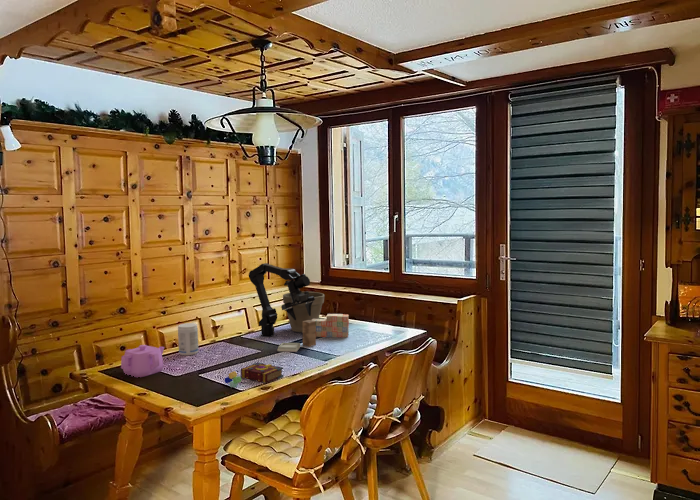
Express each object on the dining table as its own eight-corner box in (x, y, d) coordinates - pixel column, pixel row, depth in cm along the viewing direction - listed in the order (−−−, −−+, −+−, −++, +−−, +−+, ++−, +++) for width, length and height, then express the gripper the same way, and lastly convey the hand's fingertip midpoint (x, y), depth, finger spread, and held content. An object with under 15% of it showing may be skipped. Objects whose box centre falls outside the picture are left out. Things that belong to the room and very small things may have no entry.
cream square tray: (277, 351, 279) (277, 347, 278) (282, 346, 289) (282, 342, 288) (296, 351, 278) (296, 347, 277) (300, 346, 287) (300, 343, 287)
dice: (223, 385, 226) (223, 370, 225) (228, 383, 228) (228, 369, 228) (237, 389, 221) (237, 373, 221) (242, 387, 224) (242, 372, 223)
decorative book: (266, 384, 228) (266, 373, 227) (238, 378, 236) (238, 367, 236) (283, 377, 237) (283, 366, 237) (255, 371, 246) (255, 360, 245)
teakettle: (120, 379, 234) (119, 351, 233) (126, 368, 251) (125, 341, 250) (161, 376, 238) (160, 349, 237) (165, 365, 255) (164, 339, 254)
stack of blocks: (310, 336, 310) (310, 315, 309) (312, 334, 316) (312, 313, 315) (347, 337, 308) (347, 316, 307) (348, 334, 314) (348, 314, 313)
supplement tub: (197, 350, 281) (197, 322, 280) (199, 354, 272) (198, 326, 271) (178, 351, 278) (177, 323, 276) (179, 356, 269) (178, 327, 267)
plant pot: (307, 323, 344) (307, 289, 342) (332, 329, 326) (332, 294, 324) (275, 329, 327) (274, 294, 326) (299, 336, 309) (299, 299, 307)
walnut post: (302, 345, 291) (302, 321, 290) (309, 343, 294) (309, 319, 293) (309, 346, 287) (309, 322, 286) (315, 344, 291) (315, 321, 290)
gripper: (285, 291, 287) (294, 320, 285) (315, 283, 297) (323, 311, 295) (277, 296, 296) (285, 323, 294) (306, 288, 306) (314, 314, 304)
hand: (302, 317), depth 296 cm, fingers open, 9 cm apart
